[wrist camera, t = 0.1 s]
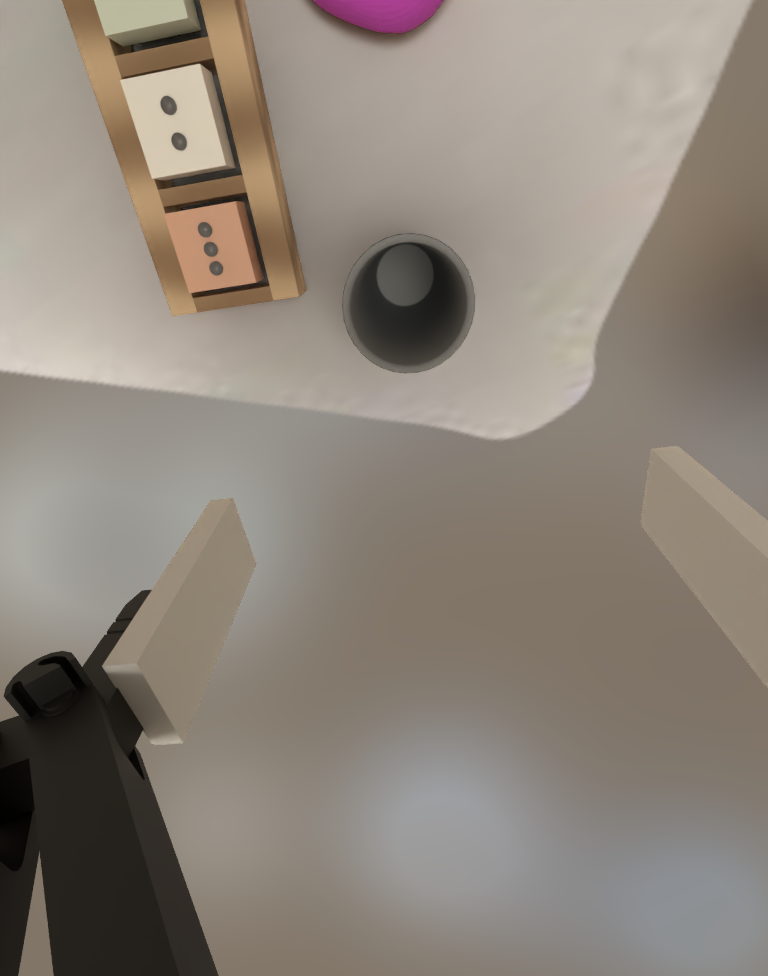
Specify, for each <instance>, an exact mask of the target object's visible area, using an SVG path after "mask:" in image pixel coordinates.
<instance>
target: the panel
mask: <svg viewBox="0 0 768 976" xmlns="http://www.w3.org/2000/svg"><path fill="white" fill-rule="evenodd" d="M62 1H63V4H64V7H65V10H66V13H67V16H68V18H69V21H70V24H71V27H72V30H73V33H74V36H75V39H76V41H77V44H78V47H79V50H80V53H81V56H82V59H83V61H84V64H85V67H86V70H87V73H88V76H89V79H90V81H91V84H92V87H93V90H94V93H95V96H96V99H97V102H98V104H99V107H100V110H101V113H102V116H103V119H104V122H105V124H106V127H107V130H108V133H109V136H110V139H111V142H112V144H113V147H114V150H115V153H116V156H117V159H118V162H119V164H120V167H121V170H122V173H123V176H124V179H125V182H126V185H127V187H128V190H129V193H130V196H131V199H132V202H133V205H134V207H135V210H136V213H137V216H138V219H139V222H140V225H141V227H142V230H143V233H144V236H145V239H146V242H147V245H148V248H149V250H150V253H151V256H152V259H153V262H154V265H155V268H156V270H157V273H158V276H159V279H160V282H161V285H162V288H163V290H164V293H165V296H166V299H167V302H168V305H169V308H170V311H171V313H172V316H176V315H183V314H189V313H196V312H202V311H209V310H215V309H221V308H228V307H234V306H241V305H247V304H254V303H260V302H267V301H273V300H280V299H286V298H293V297H299V296H300V295H302V294H303V293H304V292H305V291H306V289H305V284H304V279H303V274H302V270H301V265H300V260H299V255H298V251H297V246H296V241H295V237H294V232H293V227H292V222H291V218H290V213H289V208H288V204H287V199H286V194H285V189H284V185H283V180H282V175H281V171H280V166H279V161H278V156H277V152H276V147H275V142H274V137H273V133H272V128H271V123H270V119H269V114H268V109H267V104H266V100H265V95H264V90H263V86H262V81H261V76H260V71H259V67H258V62H257V57H256V52H255V48H254V43H253V38H252V34H251V29H250V24H249V19H248V15H247V10H246V5H245V1H244V0H200V4H201V8H202V12H203V16H204V20H205V24H206V28H207V33H208V36H207V37H203V38H198V39H193V40H189V41H184V42H179V43H174V44H170V45H165V46H160V47H156V48H151V49H146V50H141V51H137V52H132V49H131V46H125V47H123V46H122V45H120V44H118V43H117V42H115V41H113V40H112V39H110V38H108V37H107V36H105V33H104V30H103V27H102V24H101V20H100V17H99V14H98V11H97V8H96V5H95V2H94V0H62ZM196 64H201V65H202V66H204V67H205V68H206V69H208V70H209V71H210V72H212V74H216V73H218V77H219V81H220V85H221V89H222V94H223V98H224V102H225V106H226V110H227V114H228V118H229V122H230V126H231V130H232V134H233V138H234V142H235V146H236V151H237V155H238V159H239V163H240V167H241V171H242V175H238V176H232V177H227V178H221V179H216V180H210V181H205V182H199V183H194V184H188V185H183V186H178V187H174V185H173V182H172V180H167V181H164V180H157V179H152V177H151V174H150V171H149V168H148V165H147V162H146V159H145V156H144V153H143V150H142V146H141V143H140V140H139V137H138V134H137V131H136V128H135V125H134V122H133V119H132V116H131V113H130V110H129V107H128V103H127V100H126V97H125V94H124V91H123V88H122V85H121V82H120V80H123V79H128V78H133V77H138V76H143V75H147V74H152V73H157V72H162V71H167V70H172V69H176V68H181V67H186V66H191V65H196ZM247 195H248V199H249V203H250V208H251V212H252V216H253V220H254V224H255V228H256V232H257V236H258V240H259V244H260V248H261V252H262V256H263V260H264V265H265V269H266V273H267V277H268V281H269V283H264V284H258V285H252V286H246V287H239V288H233V289H227V290H220V291H214V292H208V293H207V292H206V291H201V292H194V293H189V291H188V288H187V285H186V282H185V279H184V276H183V273H182V269H181V266H180V263H179V260H178V257H177V254H176V251H175V248H174V245H173V242H172V239H171V236H170V233H169V229H168V226H167V223H166V220H165V217H164V214H167V213H172V212H178V211H181V208H180V207H185V206H191V205H197V204H202V203H208V202H214V201H219V200H225V199H230V198H236V197H242V196H247Z"/></svg>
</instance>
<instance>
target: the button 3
mask: <svg viewBox="0 0 768 976" xmlns="http://www.w3.org/2000/svg"><path fill="white" fill-rule="evenodd" d="M164 217H165V220H166V223H167V226H168V229H169V233H170V236H171V239H172V242H173V245H174V248H175V251H176V254H177V257H178V260H179V263H180V266H181V269H182V273H183V276H184V279H185V282H186V285H187V288H188V291H189V293H194V292H201V291H207V290H213V289H219V288H226V287H232V286H238V285H245V284H251V283H257V282H259V281H261V280H263V275H262V271H261V267H260V263H259V259H258V255H257V251H256V247H255V243H254V239H253V235H252V231H251V227H250V223H249V219H248V215H247V211H246V207H245V203H244V202H237V201H234V202H229V203H223V204H217V205H212V206H206V207H200V208H195V209H189V210H183V211H178V212H172V213H167V214H164Z"/></svg>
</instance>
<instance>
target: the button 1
mask: <svg viewBox="0 0 768 976" xmlns="http://www.w3.org/2000/svg"><path fill="white" fill-rule="evenodd" d="M94 2H95V5H96V8H97V11H98V14H99V17H100V20H101V24H102V27H103V30H104V33H105V36H107V37H108V38H110V39H112V40H113V41H115V42H117V43H118V44H120V45H122V46H123V47H125V46H130V45H134V44H139V43H144V42H148V41H153V40H158V39H162V38H167V37H172V36H176V35H181V34H186V33H190V32H195V31H200V30H201V27H200V23H199V19H198V15H197V11H196V7H195V3H194V0H94Z"/></svg>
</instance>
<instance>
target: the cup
mask: <svg viewBox="0 0 768 976" xmlns="http://www.w3.org/2000/svg"><path fill="white" fill-rule="evenodd" d="M342 307H343V316H344V322H345V325H346V328H347V332H348V334H349V336H350V338H351V340H352V341H353V343H354V345H355V346H356V347H357V349H358V350H359V351H360V352H361V354H363V355H364V356H365V357H366V358H367V359H368V360H369V361H371V362H372V363H374V364H376V365H377V366H379V367H381V368H384V369H386V370H389V371H392V372H399V373H418V372H421V371H425V370H429V369H431V368H433V367H435V366H438V365H440V364H441V363H443V362H444V361H445V360H447V359H448V358H449V357H451V356H452V355H453V354H454V353H455V351H456V350H457V349H458V348H459V347H460V346H461V344H462V343H463V341H464V339H465V338H466V336H467V334H468V332H469V329H470V327H471V324H472V320H473V315H474V311H475V294H474V288H473V283H472V280H471V277H470V275H469V272H468V270H467V268H466V266H465V265H464V263H463V262H462V260H461V258H460V257H459V256H458V255H457V254H456V253H455V252H454V251H453V250H452V249H451V248H450V247H448V246H447V245H445V244H444V243H442V242H441V241H439V240H437V239H434V238H432V237H429V236H426V235H420V234H413V233H410V234H398V235H395V236H391V237H388V238H385V239H383V240H381V241H380V242H378V243H376V244H374V245H372V246H371V247H370V248H369V249H368V250H367V251H366V252H364V253H363V254H362V255H361V257H360V258H359V259H358V261H357V262H356V263H355V264H354V266H353V268H352V270H351V272H350V274H349V276H348V278H347V281H346V285H345V288H344V292H343V304H342Z"/></svg>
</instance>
